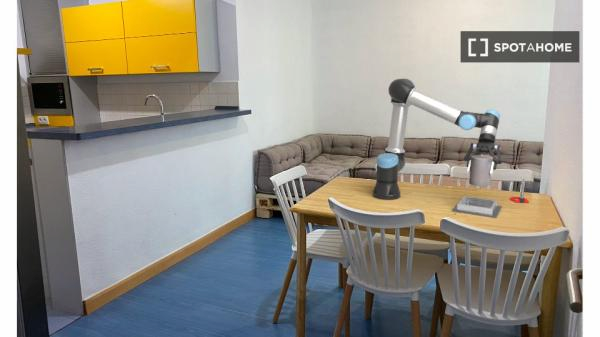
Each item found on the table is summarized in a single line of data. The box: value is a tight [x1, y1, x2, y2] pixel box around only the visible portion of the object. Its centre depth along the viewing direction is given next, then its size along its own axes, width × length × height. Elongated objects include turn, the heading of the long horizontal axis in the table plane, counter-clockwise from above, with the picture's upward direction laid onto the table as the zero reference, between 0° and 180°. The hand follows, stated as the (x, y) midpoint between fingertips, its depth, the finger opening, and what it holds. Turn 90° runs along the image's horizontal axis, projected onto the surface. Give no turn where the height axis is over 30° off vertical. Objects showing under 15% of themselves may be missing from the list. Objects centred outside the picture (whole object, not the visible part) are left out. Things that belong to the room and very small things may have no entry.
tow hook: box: [509, 178, 530, 204], centre depth 216 cm, size 8×13×9 cm
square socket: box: [451, 195, 503, 219], centre depth 203 cm, size 20×18×4 cm
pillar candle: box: [468, 154, 493, 187], centre depth 199 cm, size 10×10×15 cm
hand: (479, 173), depth 197 cm, fingers closed on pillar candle, 9 cm apart
